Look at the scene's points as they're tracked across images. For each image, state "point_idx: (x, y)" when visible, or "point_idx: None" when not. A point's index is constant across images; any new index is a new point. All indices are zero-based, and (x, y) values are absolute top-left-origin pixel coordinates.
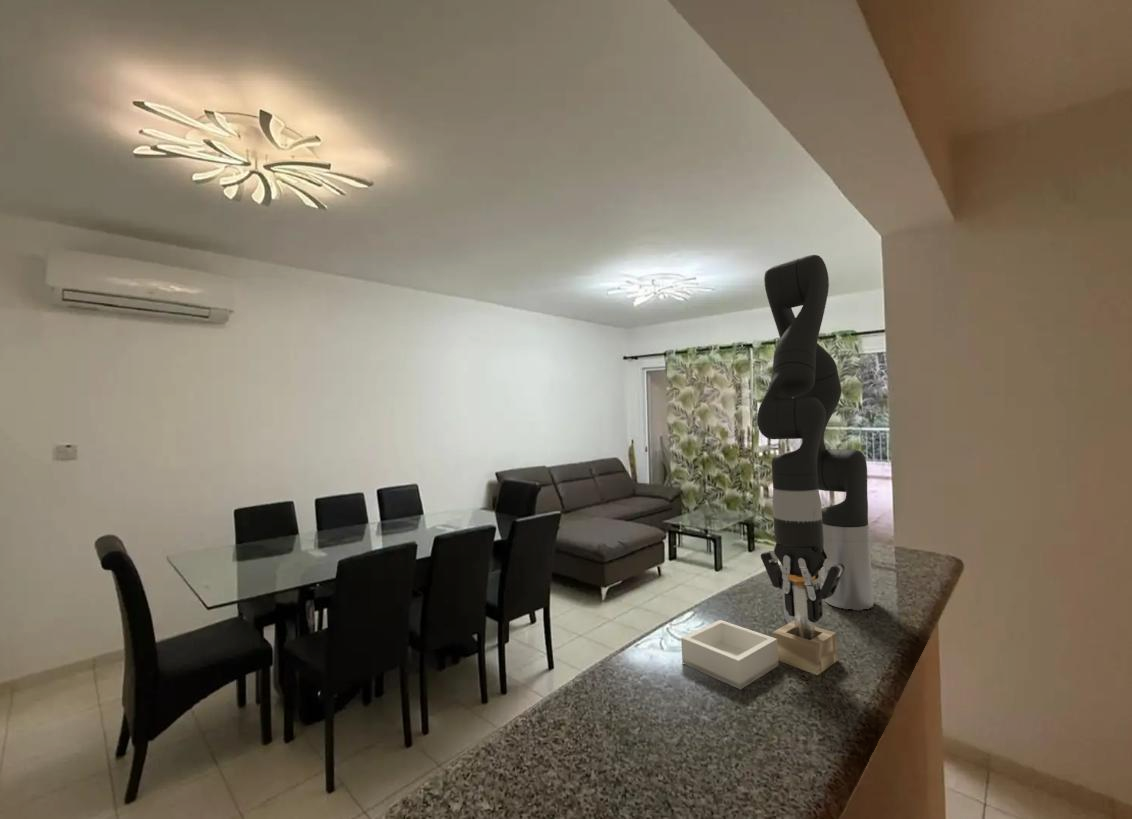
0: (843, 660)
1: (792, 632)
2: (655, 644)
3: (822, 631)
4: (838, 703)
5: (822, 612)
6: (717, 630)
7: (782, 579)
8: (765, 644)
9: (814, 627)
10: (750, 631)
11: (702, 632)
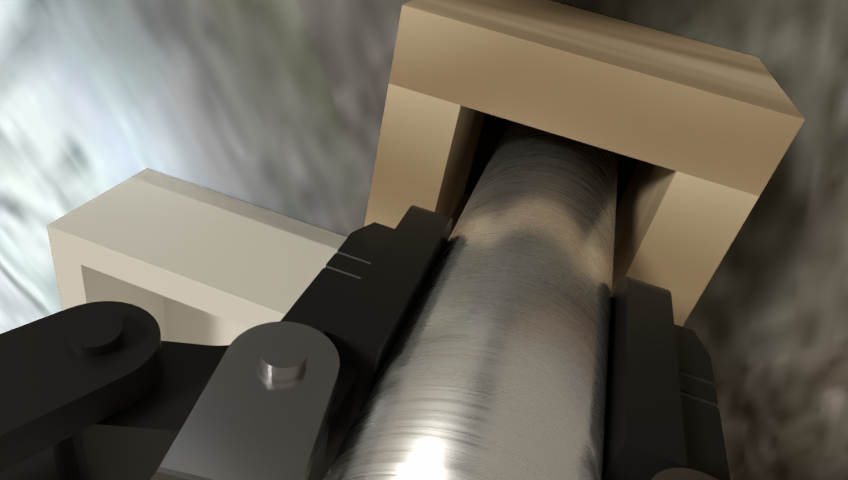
0: (798, 33)
1: (447, 180)
2: (4, 288)
3: (673, 142)
4: (734, 473)
5: (711, 380)
6: (109, 281)
7: (103, 445)
8: None
9: (613, 255)
10: (248, 315)
11: None
